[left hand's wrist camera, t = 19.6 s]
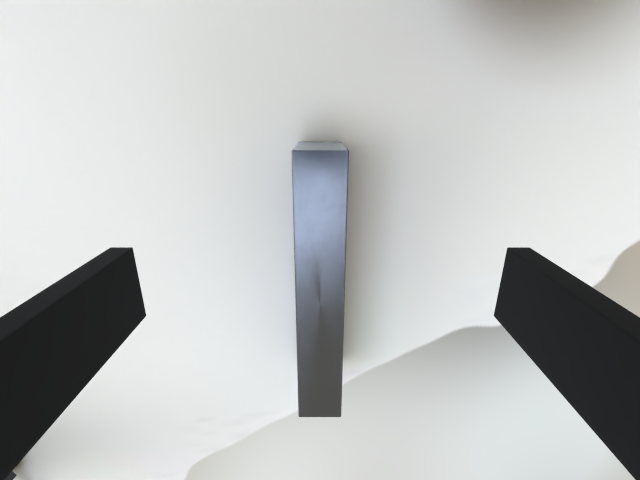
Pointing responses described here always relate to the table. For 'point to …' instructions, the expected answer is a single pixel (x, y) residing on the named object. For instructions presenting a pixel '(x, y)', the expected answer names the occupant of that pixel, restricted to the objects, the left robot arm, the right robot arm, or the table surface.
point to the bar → (320, 273)
